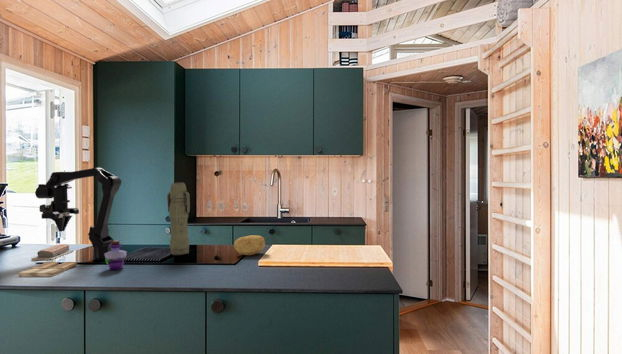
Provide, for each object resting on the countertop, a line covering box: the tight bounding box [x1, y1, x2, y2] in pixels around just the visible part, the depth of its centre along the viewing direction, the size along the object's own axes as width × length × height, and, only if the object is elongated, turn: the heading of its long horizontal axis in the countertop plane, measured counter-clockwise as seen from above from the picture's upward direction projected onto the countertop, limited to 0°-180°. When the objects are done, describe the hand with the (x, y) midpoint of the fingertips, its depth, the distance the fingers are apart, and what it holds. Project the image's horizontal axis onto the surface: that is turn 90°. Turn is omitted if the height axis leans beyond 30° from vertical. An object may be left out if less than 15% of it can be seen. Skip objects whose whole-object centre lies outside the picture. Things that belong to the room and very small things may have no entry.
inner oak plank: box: [53, 261, 78, 272], centre depth 176 cm, size 5×9×1 cm, turn 177°
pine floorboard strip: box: [18, 267, 65, 277], centre depth 168 cm, size 14×7×2 cm, turn 87°
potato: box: [233, 234, 266, 256], centre depth 198 cm, size 10×14×10 cm
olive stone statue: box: [166, 181, 191, 256], centre depth 203 cm, size 9×12×35 cm
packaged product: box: [31, 243, 74, 262], centre depth 201 cm, size 18×5×10 cm
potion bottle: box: [104, 240, 128, 271], centre depth 174 cm, size 9×9×12 cm
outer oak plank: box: [32, 261, 60, 268], centre depth 176 cm, size 5×9×1 cm, turn 177°
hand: (61, 231), depth 194 cm, fingers closed
